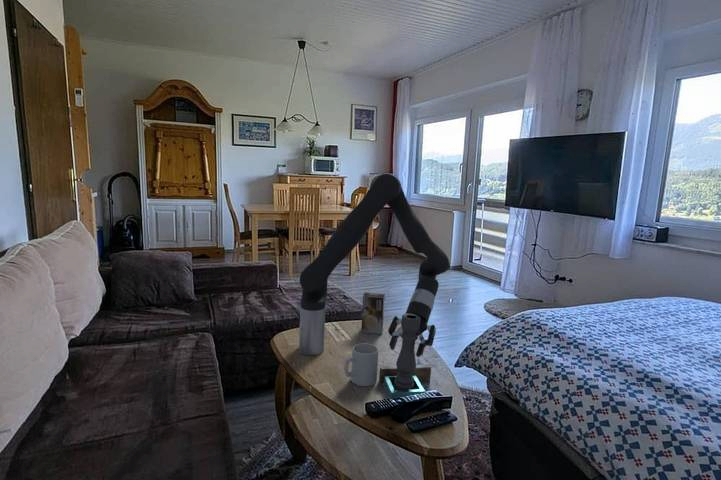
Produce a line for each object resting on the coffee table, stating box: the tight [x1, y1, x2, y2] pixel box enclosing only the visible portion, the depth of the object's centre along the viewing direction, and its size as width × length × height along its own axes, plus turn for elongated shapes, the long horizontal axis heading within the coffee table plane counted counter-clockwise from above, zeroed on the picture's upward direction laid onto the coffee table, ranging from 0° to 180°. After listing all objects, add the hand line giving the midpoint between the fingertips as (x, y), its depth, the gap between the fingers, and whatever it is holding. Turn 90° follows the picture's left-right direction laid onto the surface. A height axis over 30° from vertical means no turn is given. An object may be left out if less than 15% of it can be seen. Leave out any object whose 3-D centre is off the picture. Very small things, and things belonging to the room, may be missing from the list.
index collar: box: [382, 374, 426, 400], centre depth 126 cm, size 10×10×4 cm
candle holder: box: [393, 313, 421, 390], centre depth 124 cm, size 6×6×25 cm
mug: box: [343, 342, 379, 387], centre depth 131 cm, size 12×8×11 cm
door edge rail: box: [378, 363, 433, 385], centre depth 133 cm, size 17×2×5 cm, turn 100°
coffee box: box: [360, 292, 386, 335], centre depth 173 cm, size 9×6×16 cm
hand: (404, 352), depth 123 cm, fingers open, 8 cm apart
